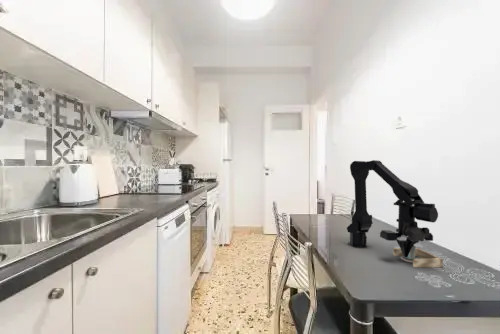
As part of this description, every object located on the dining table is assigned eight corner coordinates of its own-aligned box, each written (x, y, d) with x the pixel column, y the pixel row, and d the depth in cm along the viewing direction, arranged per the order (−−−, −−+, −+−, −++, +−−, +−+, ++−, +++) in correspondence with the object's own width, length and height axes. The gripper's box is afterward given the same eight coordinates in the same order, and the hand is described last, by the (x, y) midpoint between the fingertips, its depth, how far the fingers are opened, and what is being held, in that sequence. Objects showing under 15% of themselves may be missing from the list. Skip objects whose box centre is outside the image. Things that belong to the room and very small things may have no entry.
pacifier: (408, 264, 108) (423, 263, 109) (408, 248, 108) (423, 247, 109) (397, 258, 116) (410, 257, 116) (397, 243, 116) (410, 242, 116)
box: (414, 267, 104) (414, 259, 104) (393, 255, 118) (393, 248, 118) (442, 267, 105) (442, 259, 105) (417, 255, 119) (418, 248, 119)
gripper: (395, 221, 103) (394, 264, 103) (444, 222, 104) (443, 264, 104) (379, 216, 114) (378, 254, 114) (423, 216, 115) (422, 254, 115)
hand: (405, 256), depth 111 cm, fingers closed
